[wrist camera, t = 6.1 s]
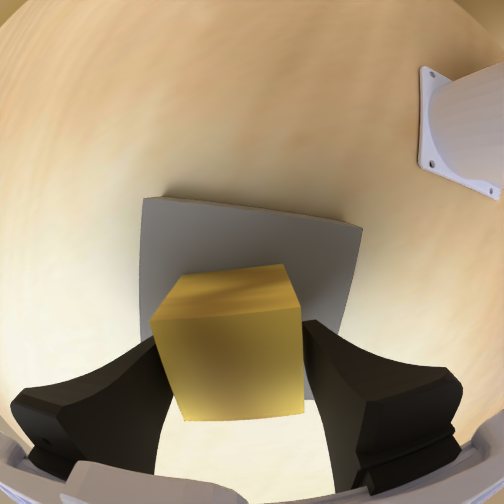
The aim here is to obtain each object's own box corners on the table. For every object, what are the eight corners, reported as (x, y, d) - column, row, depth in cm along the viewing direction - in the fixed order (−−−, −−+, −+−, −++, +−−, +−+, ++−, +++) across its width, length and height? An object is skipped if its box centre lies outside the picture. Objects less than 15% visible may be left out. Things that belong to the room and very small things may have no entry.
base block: (341, 220, 16) (363, 228, 13) (306, 368, 19) (315, 399, 15) (164, 196, 16) (143, 198, 13) (158, 350, 18) (143, 378, 15)
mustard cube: (283, 263, 13) (300, 306, 8) (289, 349, 14) (304, 413, 10) (182, 275, 13) (149, 320, 9) (201, 357, 15) (184, 420, 10)
